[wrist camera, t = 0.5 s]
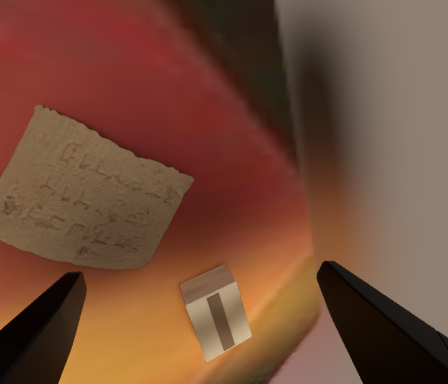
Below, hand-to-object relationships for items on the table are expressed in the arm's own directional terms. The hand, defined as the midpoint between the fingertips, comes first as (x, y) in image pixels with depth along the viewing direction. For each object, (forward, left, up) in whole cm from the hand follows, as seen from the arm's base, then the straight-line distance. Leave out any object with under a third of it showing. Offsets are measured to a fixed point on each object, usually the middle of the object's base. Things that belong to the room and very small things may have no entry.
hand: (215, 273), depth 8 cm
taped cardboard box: (-12, -1, -13) cm, 18 cm away
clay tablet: (+2, +5, -14) cm, 15 cm away
